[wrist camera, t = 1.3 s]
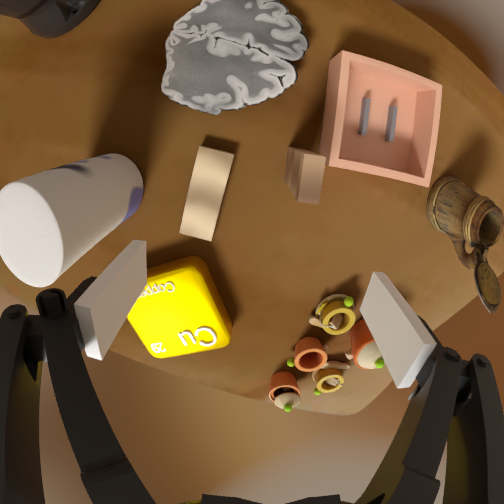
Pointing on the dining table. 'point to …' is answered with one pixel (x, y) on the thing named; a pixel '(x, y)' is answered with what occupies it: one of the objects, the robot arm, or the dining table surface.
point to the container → (64, 214)
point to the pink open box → (380, 119)
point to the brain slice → (232, 54)
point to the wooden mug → (468, 230)
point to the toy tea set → (314, 356)
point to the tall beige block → (304, 174)
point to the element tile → (180, 310)
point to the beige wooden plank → (206, 192)
